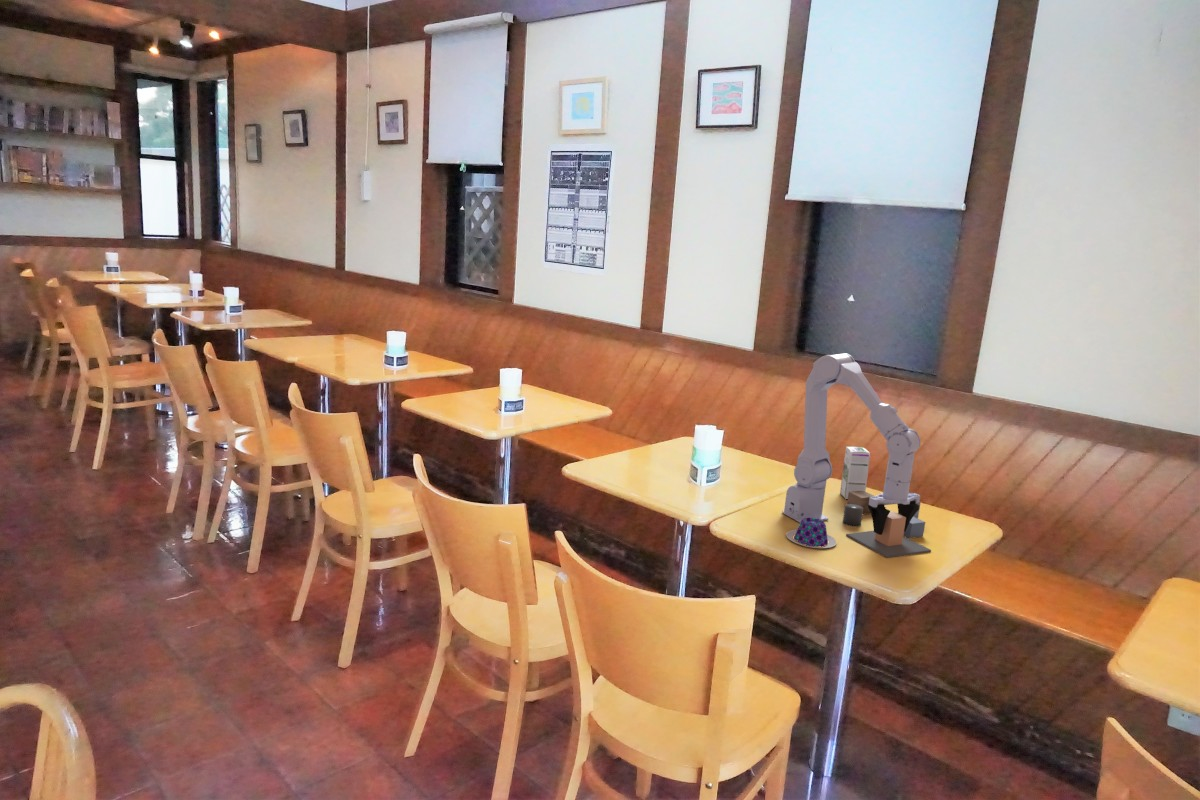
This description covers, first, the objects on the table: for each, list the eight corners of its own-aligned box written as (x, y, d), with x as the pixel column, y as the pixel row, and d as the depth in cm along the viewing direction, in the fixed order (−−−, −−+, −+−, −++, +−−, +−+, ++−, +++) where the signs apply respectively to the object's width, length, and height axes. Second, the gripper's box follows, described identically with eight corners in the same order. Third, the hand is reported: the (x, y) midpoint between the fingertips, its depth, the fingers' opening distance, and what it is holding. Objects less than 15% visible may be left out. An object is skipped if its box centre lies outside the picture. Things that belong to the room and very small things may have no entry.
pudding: (782, 529, 201) (785, 510, 200) (830, 534, 200) (833, 515, 199) (789, 548, 190) (792, 527, 188) (840, 553, 189) (843, 532, 188)
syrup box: (864, 501, 227) (872, 452, 224) (844, 499, 227) (851, 451, 224) (858, 494, 233) (865, 447, 230) (838, 493, 233) (845, 445, 230)
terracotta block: (887, 546, 193) (892, 519, 192) (874, 539, 197) (878, 512, 196) (901, 544, 195) (906, 517, 193) (888, 537, 199) (892, 511, 197)
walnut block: (859, 515, 216) (861, 497, 215) (846, 508, 220) (848, 491, 219) (873, 513, 218) (875, 496, 217) (860, 507, 222) (862, 490, 221)
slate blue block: (909, 538, 201) (912, 523, 200) (895, 531, 206) (897, 516, 205) (922, 536, 203) (925, 522, 202) (908, 529, 207) (910, 515, 207)
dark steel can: (908, 523, 212) (912, 503, 211) (896, 517, 216) (899, 498, 215) (921, 522, 214) (924, 502, 212) (908, 516, 218) (911, 497, 216)
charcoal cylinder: (851, 527, 206) (853, 510, 205) (838, 520, 210) (841, 504, 209) (864, 525, 208) (867, 509, 207) (852, 519, 212) (854, 503, 211)
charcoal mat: (886, 558, 187) (887, 556, 187) (846, 535, 199) (846, 533, 199) (930, 551, 193) (931, 549, 193) (888, 530, 205) (888, 528, 205)
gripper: (887, 486, 186) (878, 540, 189) (932, 482, 192) (924, 535, 195) (865, 477, 192) (858, 529, 195) (910, 473, 198) (902, 524, 201)
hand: (889, 531), depth 196 cm, fingers open, 7 cm apart
